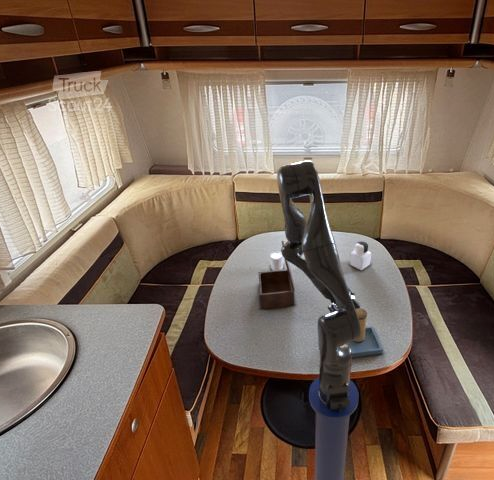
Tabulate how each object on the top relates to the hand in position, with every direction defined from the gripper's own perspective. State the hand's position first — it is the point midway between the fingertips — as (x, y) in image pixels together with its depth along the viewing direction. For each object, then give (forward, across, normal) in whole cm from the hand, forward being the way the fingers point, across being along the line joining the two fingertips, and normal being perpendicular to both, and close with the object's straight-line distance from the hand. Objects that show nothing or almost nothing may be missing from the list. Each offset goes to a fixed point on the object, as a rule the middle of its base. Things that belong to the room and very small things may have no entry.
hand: (355, 315), depth 127 cm
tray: (+9, +2, -6) cm, 12 cm away
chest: (-19, -10, -35) cm, 41 cm away
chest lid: (-26, -13, -21) cm, 36 cm away
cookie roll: (+9, 0, -6) cm, 11 cm away
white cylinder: (-25, -28, -41) cm, 56 cm away
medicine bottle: (0, -46, -16) cm, 49 cm away
